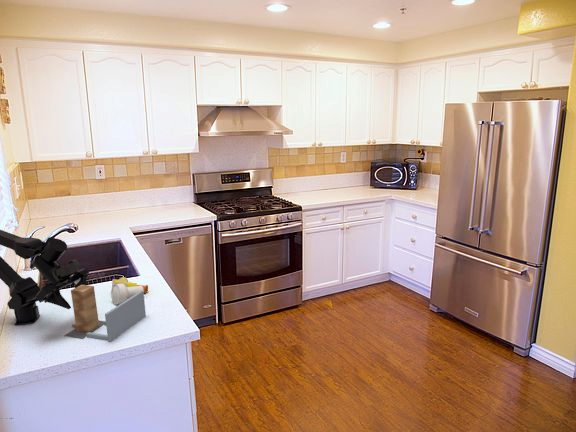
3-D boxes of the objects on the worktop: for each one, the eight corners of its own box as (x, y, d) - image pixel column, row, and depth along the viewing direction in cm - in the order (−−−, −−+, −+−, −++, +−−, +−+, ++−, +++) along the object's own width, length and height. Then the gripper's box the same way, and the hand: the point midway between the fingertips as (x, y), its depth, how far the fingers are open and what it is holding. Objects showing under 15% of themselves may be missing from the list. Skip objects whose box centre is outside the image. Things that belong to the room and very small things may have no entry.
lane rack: (85, 338, 138) (81, 310, 135) (122, 313, 155) (120, 288, 153) (110, 342, 135) (107, 314, 133) (145, 316, 153) (143, 291, 150)
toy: (120, 275, 181) (109, 281, 171) (153, 278, 181) (144, 284, 171) (119, 287, 182) (109, 293, 172) (152, 290, 181) (144, 297, 171)
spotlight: (108, 298, 165) (111, 280, 164) (135, 295, 173) (139, 278, 172) (116, 308, 160) (120, 289, 158) (144, 304, 168) (147, 287, 166)
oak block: (67, 329, 143) (61, 289, 140) (78, 322, 148) (72, 283, 144) (88, 332, 141) (83, 291, 137) (99, 325, 145) (93, 286, 142)
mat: (64, 336, 139) (64, 335, 139) (90, 320, 150) (90, 319, 150) (82, 339, 137) (82, 338, 137) (107, 322, 148) (107, 321, 148)
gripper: (37, 264, 131) (70, 300, 130) (81, 246, 148) (111, 278, 148) (22, 284, 135) (54, 320, 134) (66, 265, 152) (95, 296, 152)
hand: (80, 302), depth 142 cm, fingers open, 9 cm apart
